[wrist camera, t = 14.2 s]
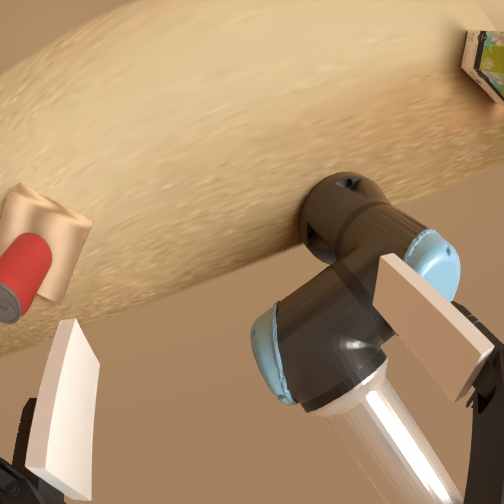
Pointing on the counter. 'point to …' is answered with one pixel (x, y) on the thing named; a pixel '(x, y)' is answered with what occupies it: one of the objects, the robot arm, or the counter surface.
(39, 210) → the maple base
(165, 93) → the counter surface
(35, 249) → the beer can
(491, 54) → the tea box
